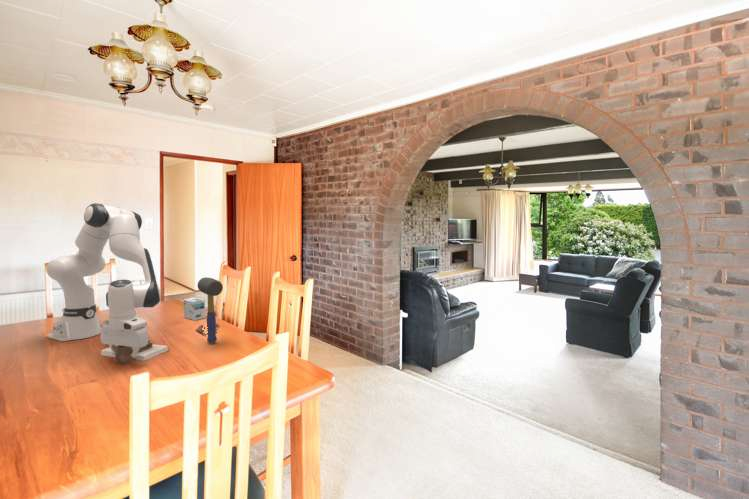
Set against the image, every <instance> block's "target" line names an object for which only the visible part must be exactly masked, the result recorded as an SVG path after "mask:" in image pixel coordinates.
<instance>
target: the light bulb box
mask: <svg viewBox="0 0 749 499" xmlns="http://www.w3.org/2000/svg"><path fill="white" fill-rule="evenodd" d="M183 312H184V313H183V314H184V316H183V317H184V318H185V319H188V320H191V319H192V320H191V321H198V319H199V320H202V318H203V319H207V315H206V300H205V299H202V298H198V297H189V298H184V299H183Z"/></svg>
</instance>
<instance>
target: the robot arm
mask: <svg viewBox="0 0 749 499" xmlns="http://www.w3.org/2000/svg"><path fill="white" fill-rule="evenodd" d="M83 219H84V223H83V226H82V227H81V229H80V230H79V232H78V235H77V236H76V238H75V240H74V243H75V246H76V247H77V248H78V251H77V253H76V254H72V255H71V254H70V255H63V256H59V257H57V258H54V259H52V260H49V262H48V263H47V265H46V274H47V275H48V277H49V278H50V279H52V280H55V282H57V283H58V284H59V285H60V287H61V289H62V291H63V292H62V293H63V297H64V304H65V305H64V306H65V307H64V308H63V309H61V312H63V313H62V316H61V317H59V319H58V320H56V321H55V322H54V323H53V324H52V332H49V333H48V334H46V337H47V338H48V339H52V340H56V341H59V342H67V341H72V340H73V341H74V340H81V339H88V338H92V337H94V336H98V335H100V342H101V344H105V345H108V346H109V347H108V348H110V349H111V350H112V355H115V347H116V345H119V346H127V347H132V349H133V353H131V357H132V358H135V357H137V356H138V353H137V352H138V351H139V349H140V348H142V347H144V346H146V345H147V344H148V340H149V333H148V328H147V327H146V326H147V325H148V321H147V320H146V319H144V318H142V317H141V316H138V315H137V312H136V310H135V309H138V308H140V309H141V308H155V306H157V305H158V304H159V303H160V302H161V299H162V292H161V289H160V287H159V284H158V282H157V278H156V273H155V269H154V264H153V261H152V257H151V255H150V252H149V250H148V249H147V248H146V247H143V245H142V243H141V240H140V239H141V237H140V235H141V233H140V229H141V228H142V224H143V220H142V217H141V215H140V214H139V213H137V212H135V211H130V210H128V209H125V208H121V207H117V206H114V205H106V204H103V203H91V204H89V205H88V206H87V207H86V208H85V211H84V213H83ZM107 243H108V245H109V250H110V252H111V253H112V254H113V255H114V256H116V258H119V259H122V260H124V261H130V262H133V263H135V264H138V265H140V266H141V268H142V271H143V275H144V280H145V282H144V283H142V284H140V283H139V284H133V282H132V281H131V280H129V279H116V280H113V281H111V282H110V283H109V284H108V290H107V292H106V294H105V301H106V306H107V307H108V308H109V312H108V319H106V320H104V321H103V322H102V323H101V324H100V319H99V314H98V313H96V312H97V305H96V303H95V290H94V288H93V287H92V286H89V285H88V284H86V282H85V279H84V278H85V277H89V276H93V275H96V274H99V273H101V272H102V271H103V270H104V269H105V267H106V260H105V259H104V257H103V251H104V248H105V246H106V244H107ZM100 325H101V326H100Z"/></svg>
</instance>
